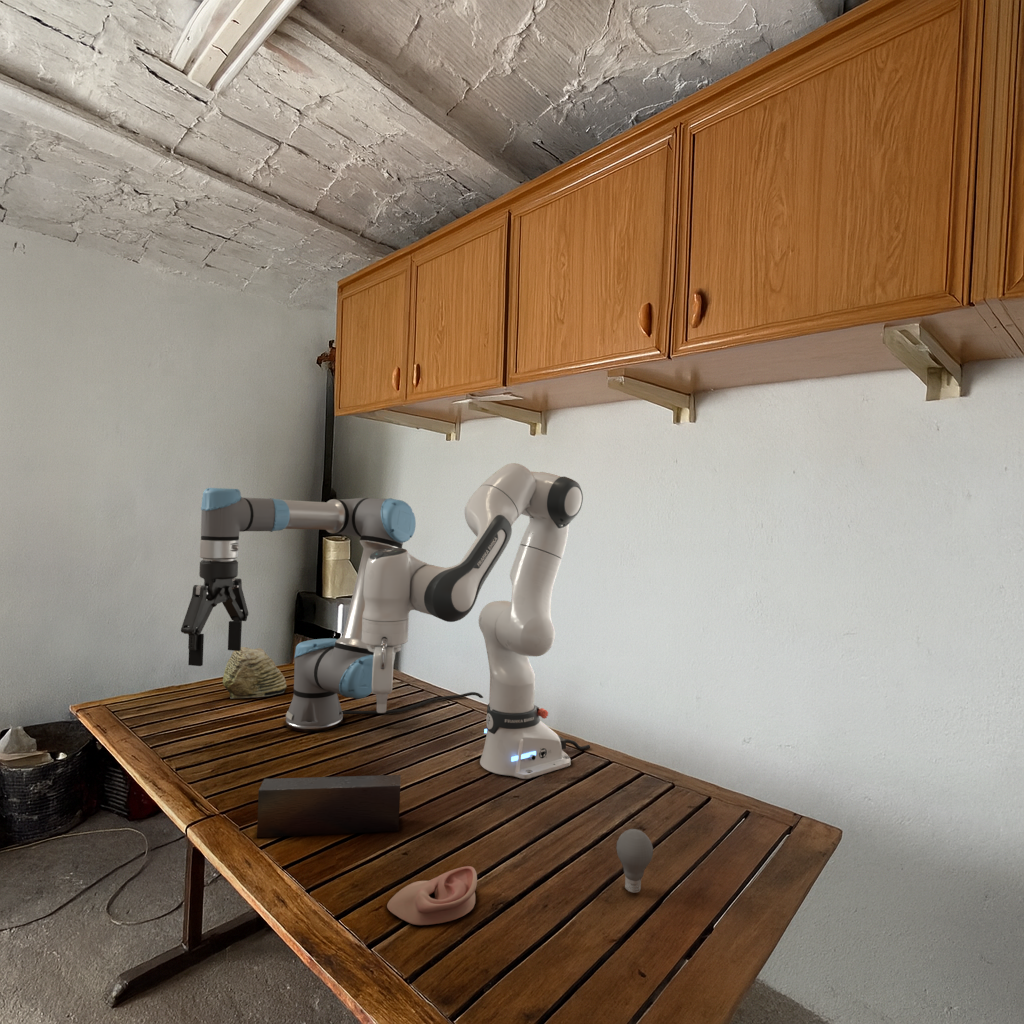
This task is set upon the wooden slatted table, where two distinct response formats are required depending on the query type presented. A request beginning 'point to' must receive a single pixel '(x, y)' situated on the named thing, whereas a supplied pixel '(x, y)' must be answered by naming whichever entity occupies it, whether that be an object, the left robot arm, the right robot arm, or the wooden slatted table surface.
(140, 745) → the wooden slatted table surface
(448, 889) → the anatomical model
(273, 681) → the fossil
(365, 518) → the left robot arm
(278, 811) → the bar
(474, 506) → the right robot arm
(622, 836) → the light bulb
